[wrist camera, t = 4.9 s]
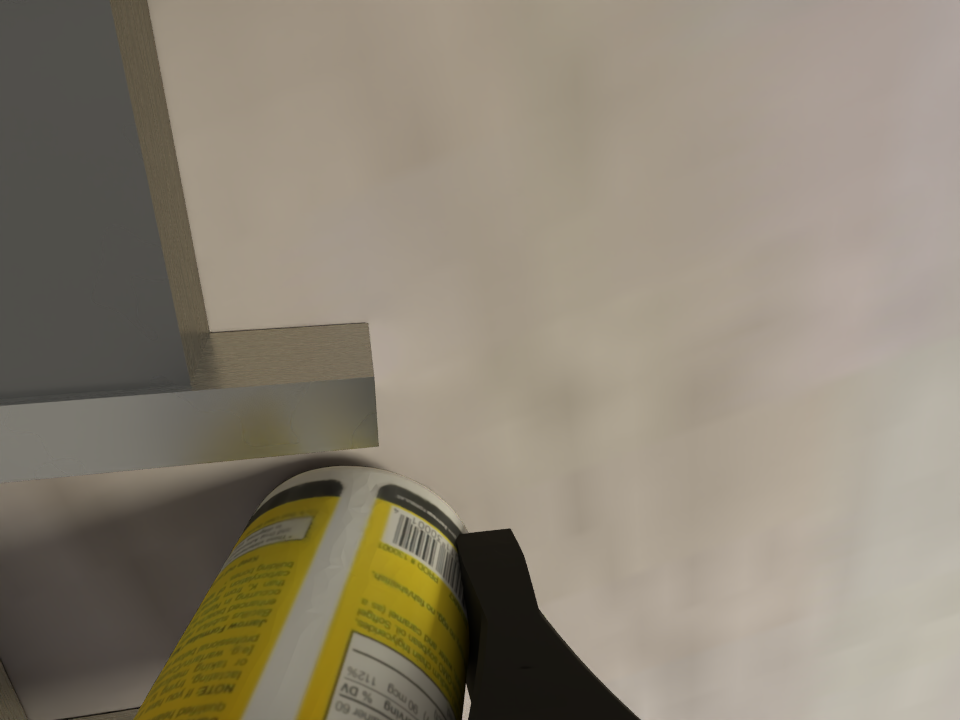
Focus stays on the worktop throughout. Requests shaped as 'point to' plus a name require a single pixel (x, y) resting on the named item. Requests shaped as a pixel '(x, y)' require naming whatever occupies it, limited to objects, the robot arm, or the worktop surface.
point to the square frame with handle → (130, 282)
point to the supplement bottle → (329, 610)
